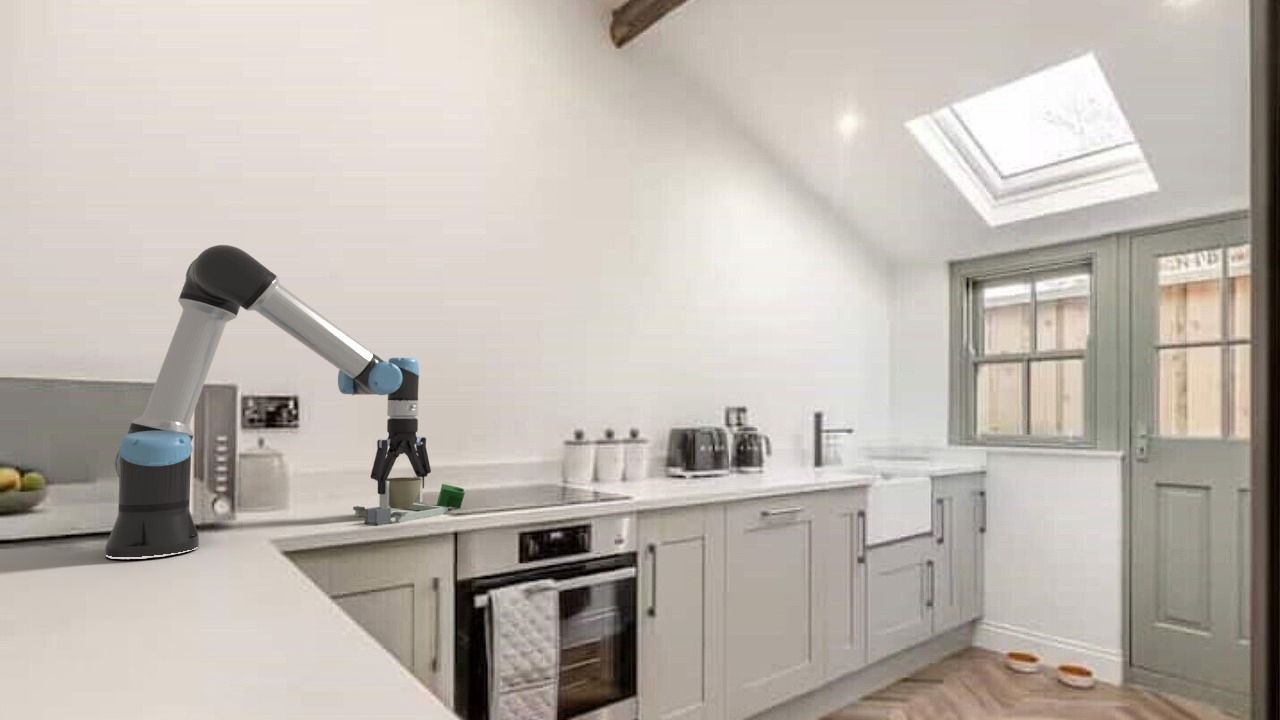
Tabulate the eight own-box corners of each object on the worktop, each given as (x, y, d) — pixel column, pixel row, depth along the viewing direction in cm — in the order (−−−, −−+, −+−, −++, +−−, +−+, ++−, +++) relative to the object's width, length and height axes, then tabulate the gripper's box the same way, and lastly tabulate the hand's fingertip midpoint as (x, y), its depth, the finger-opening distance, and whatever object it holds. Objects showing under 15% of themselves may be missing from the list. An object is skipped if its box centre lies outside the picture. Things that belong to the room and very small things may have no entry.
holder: (401, 522, 172) (401, 513, 172) (353, 515, 182) (353, 506, 182) (450, 513, 186) (450, 504, 186) (403, 507, 195) (403, 499, 195)
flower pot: (395, 511, 177) (396, 482, 177) (372, 507, 183) (373, 479, 183) (429, 506, 184) (429, 478, 185) (406, 503, 190) (406, 476, 191)
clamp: (455, 525, 192) (464, 497, 190) (433, 521, 191) (442, 492, 188) (459, 502, 204) (467, 475, 201) (438, 498, 202) (446, 470, 200)
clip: (378, 525, 168) (378, 510, 169) (364, 523, 171) (364, 508, 171) (391, 523, 172) (392, 508, 172) (378, 521, 175) (378, 506, 175)
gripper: (375, 419, 173) (373, 511, 172) (445, 416, 192) (444, 500, 191) (355, 418, 177) (354, 509, 176) (426, 416, 196) (425, 497, 195)
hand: (401, 504), depth 184 cm, fingers closed on flower pot, 10 cm apart
